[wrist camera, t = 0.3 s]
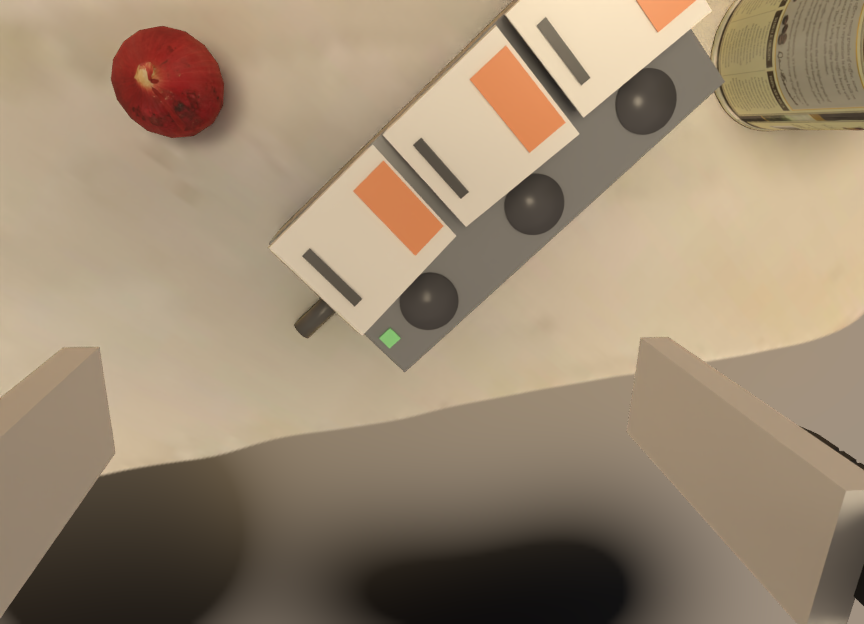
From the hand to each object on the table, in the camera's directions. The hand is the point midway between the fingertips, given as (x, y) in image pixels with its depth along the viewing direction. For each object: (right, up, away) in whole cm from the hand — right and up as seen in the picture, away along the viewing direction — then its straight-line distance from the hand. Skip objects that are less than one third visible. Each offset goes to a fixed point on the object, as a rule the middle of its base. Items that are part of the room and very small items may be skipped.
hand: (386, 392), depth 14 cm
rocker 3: (+10, +18, +17) cm, 27 cm away
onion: (-14, +16, +22) cm, 31 cm away
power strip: (+3, +11, +26) cm, 29 cm away
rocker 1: (-3, +6, +19) cm, 20 cm away
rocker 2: (+4, +12, +18) cm, 22 cm away
